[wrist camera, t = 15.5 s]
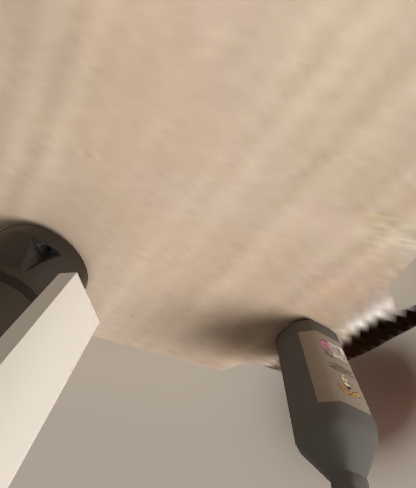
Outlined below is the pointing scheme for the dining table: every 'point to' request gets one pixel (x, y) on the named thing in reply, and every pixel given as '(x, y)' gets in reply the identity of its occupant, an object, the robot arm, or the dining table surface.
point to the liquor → (326, 405)
